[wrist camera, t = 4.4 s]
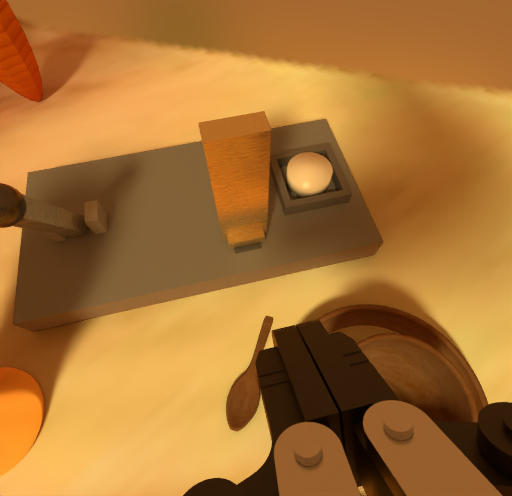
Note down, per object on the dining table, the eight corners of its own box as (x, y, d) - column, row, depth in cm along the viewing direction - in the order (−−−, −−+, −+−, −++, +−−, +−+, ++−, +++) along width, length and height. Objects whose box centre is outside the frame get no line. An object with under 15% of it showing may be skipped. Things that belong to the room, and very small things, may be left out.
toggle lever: (66, 244, 22) (-38, 229, 14) (60, 215, 23) (-47, 182, 14) (95, 238, 23) (12, 219, 14) (90, 209, 23) (3, 173, 14)
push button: (292, 201, 23) (294, 191, 22) (281, 167, 25) (282, 156, 24) (335, 193, 24) (339, 182, 23) (321, 159, 25) (324, 148, 24)
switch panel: (33, 331, 22) (-7, 317, 19) (43, 188, 27) (13, 157, 24) (374, 254, 24) (391, 230, 21) (321, 136, 29) (329, 102, 26)
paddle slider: (225, 249, 22) (204, 153, 14) (218, 219, 23) (196, 113, 15) (269, 240, 22) (274, 140, 14) (260, 210, 23) (261, 102, 15)
